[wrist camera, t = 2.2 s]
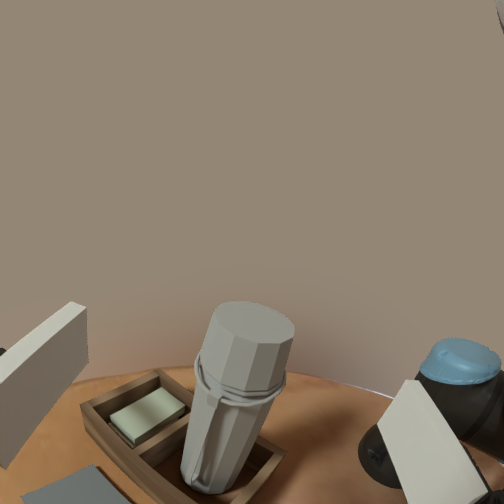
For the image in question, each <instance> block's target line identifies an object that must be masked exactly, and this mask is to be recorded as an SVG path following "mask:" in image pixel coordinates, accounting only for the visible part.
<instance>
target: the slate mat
mask: <svg viewBox="0 0 504 504" xmlns="http://www.w3.org/2000/svg"><path fill="white" fill-rule="evenodd" d="M20 497H21V498H22V500H23V501H24V503H25V504H131V503H130V502H129V501H128V500H127V499H126V498H125V497H124V496H123V495H122V494H121V493H120V492H119V491H118V490H117V489H116V488H115V487H114V486H113V485H112V484H111V483H110V482H109V481H108V480H107V479H106V478H105V477H104V476H103V475H102V474H101V473H100V472H99V470H98V469H97V468H96V467H95V466H94V465H93V464H92V465H90V466H88V467H86V468H84V469H82V470H80V471H78V472H76V473H74V474H71V475H69V476H67V477H65V478H63V479H61V480H59V481H56V482H54V483H52V484H50V485H47V486H45V487H43V488H40V489H38V490H35V491H33V492H30V493H28V494H25V495H23V496H20Z"/></svg>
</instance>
